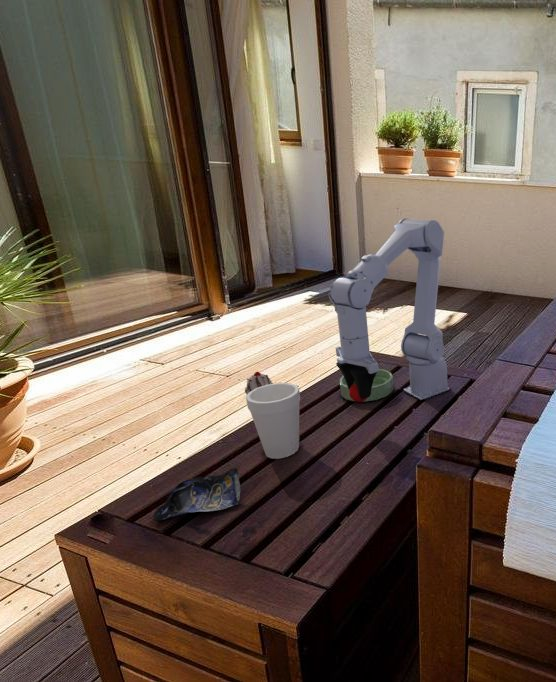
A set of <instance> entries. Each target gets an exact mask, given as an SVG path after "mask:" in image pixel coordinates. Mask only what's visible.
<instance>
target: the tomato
mask: <svg viewBox="0 0 556 682" xmlns="http://www.w3.org/2000/svg"><path fill="white" fill-rule="evenodd" d="M349 395H350V397H351V399H352V400H354V401H353V402H356V403H362V402H366V401H365V400H366V399H367V398H365V399H361V398H360V396H359V393H358V389H357V385H356V382H355V381H354V382H353V385H352V386H351V387H350V389H349Z"/></svg>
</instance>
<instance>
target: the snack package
mask: <svg viewBox="0 0 556 682" xmlns="http://www.w3.org/2000/svg"><path fill="white" fill-rule="evenodd" d="M240 497H241V483H240V474H239V469H237V467H233V468H230V469H229V470H227V471H226V472H225V473H223V474H219V475H211V473H209V474H208V475H206V476H203V477H199V476H198V477H194V478H191V479H186V480H184V481H182V482H180V483H178V484H177V486H175V488H174V489H173V490H172V492H171V493H170V494H169V496H168V498H167V499H166V501H165V503H163V504H162V505H160V506H159V507H158V508H156V511H154V512H153V516H152V517H153V521H154V522H155V523H156V522H157V523H158V522H161V521H162V520H166V519H170V518H173V517H179V516H183V515H186V514H189V513H198V512H214V511H221V510H225V509H227V508H230V507H233V506H236V505H238V504H239V501H240Z"/></svg>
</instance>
